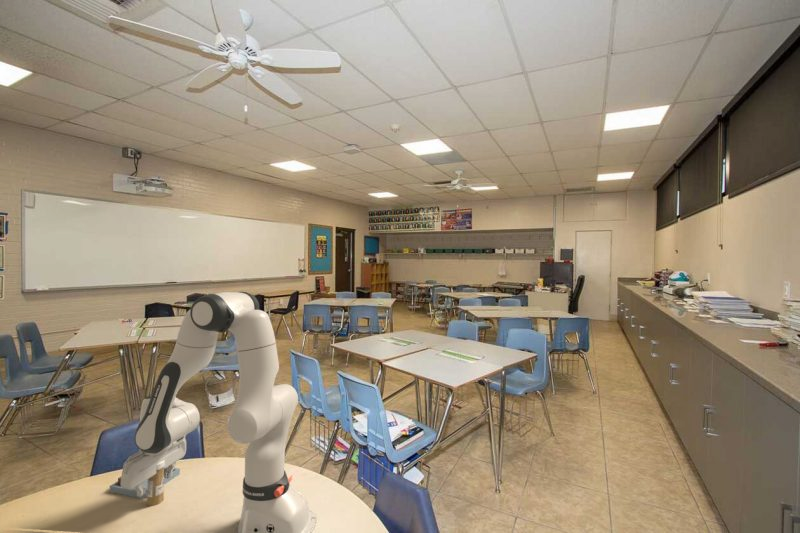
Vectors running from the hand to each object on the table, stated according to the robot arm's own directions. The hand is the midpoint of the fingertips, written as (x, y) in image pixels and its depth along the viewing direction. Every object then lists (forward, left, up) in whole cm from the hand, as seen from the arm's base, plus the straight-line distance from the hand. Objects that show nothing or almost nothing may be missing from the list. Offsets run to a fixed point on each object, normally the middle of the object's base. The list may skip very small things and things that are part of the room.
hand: (155, 485), depth 112 cm
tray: (+12, -7, -6) cm, 15 cm away
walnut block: (+15, -4, -5) cm, 16 cm away
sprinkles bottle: (0, 0, -6) cm, 6 cm away
